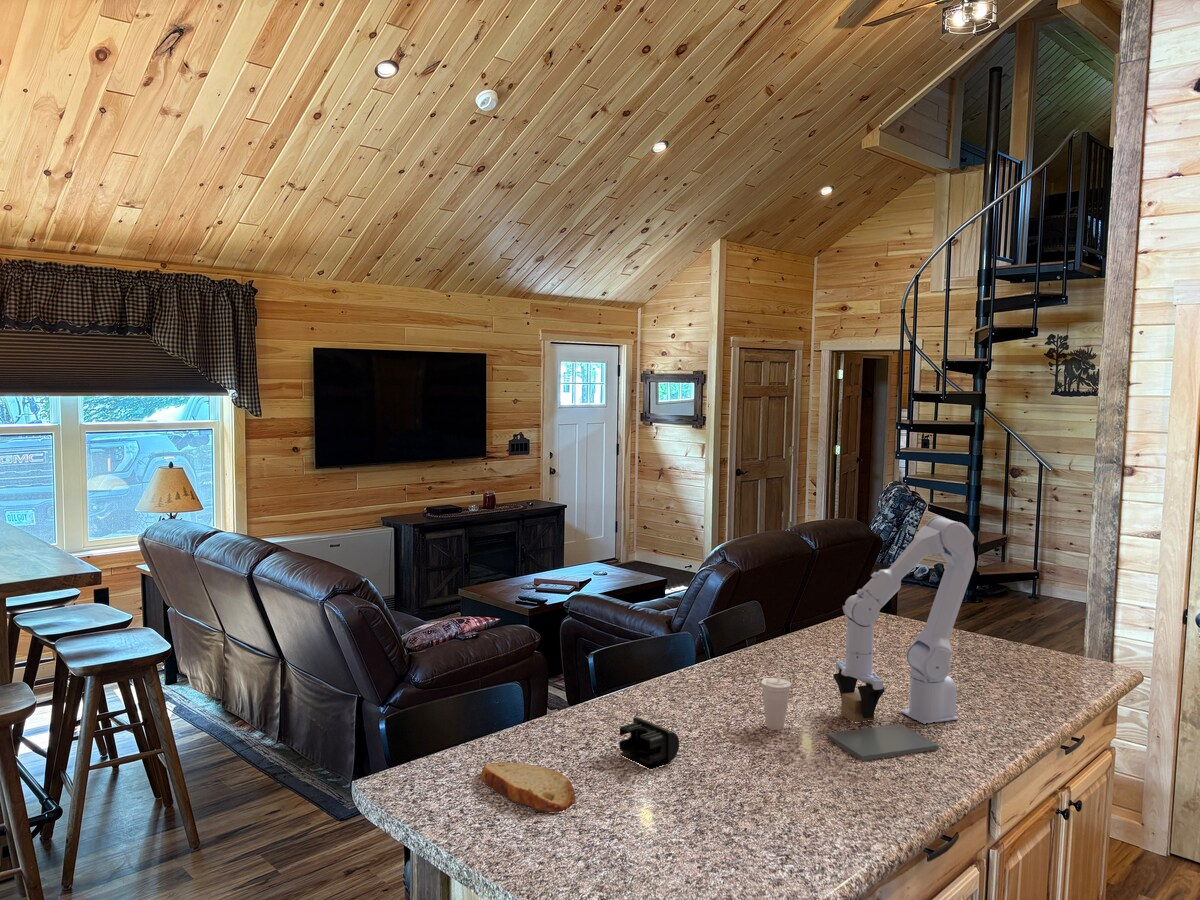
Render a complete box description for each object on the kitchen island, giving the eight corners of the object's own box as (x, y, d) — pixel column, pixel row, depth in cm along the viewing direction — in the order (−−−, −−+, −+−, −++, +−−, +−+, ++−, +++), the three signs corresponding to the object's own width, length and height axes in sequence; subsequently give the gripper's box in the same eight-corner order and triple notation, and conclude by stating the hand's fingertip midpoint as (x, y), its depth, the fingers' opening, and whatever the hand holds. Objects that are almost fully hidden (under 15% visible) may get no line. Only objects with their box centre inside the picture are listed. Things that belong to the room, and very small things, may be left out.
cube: (860, 713, 201) (860, 691, 200) (874, 721, 196) (874, 698, 196) (841, 715, 199) (841, 693, 199) (854, 723, 194) (855, 701, 194)
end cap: (679, 762, 173) (680, 728, 173) (652, 772, 169) (653, 737, 168) (644, 746, 181) (644, 713, 180) (617, 755, 176) (618, 722, 176)
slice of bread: (481, 770, 170) (481, 751, 169) (577, 771, 169) (577, 752, 169) (467, 815, 152) (467, 794, 151) (574, 817, 152) (574, 795, 151)
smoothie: (790, 733, 188) (791, 668, 187) (759, 731, 189) (760, 665, 188) (790, 722, 194) (791, 659, 193) (760, 720, 196) (761, 656, 195)
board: (899, 728, 192) (900, 723, 192) (938, 749, 180) (938, 745, 180) (827, 738, 186) (827, 733, 186) (862, 761, 174) (862, 756, 174)
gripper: (824, 643, 202) (823, 702, 203) (864, 662, 188) (862, 725, 189) (851, 640, 204) (849, 699, 205) (892, 659, 191) (890, 721, 192)
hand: (857, 711), depth 197 cm, fingers open, 7 cm apart
